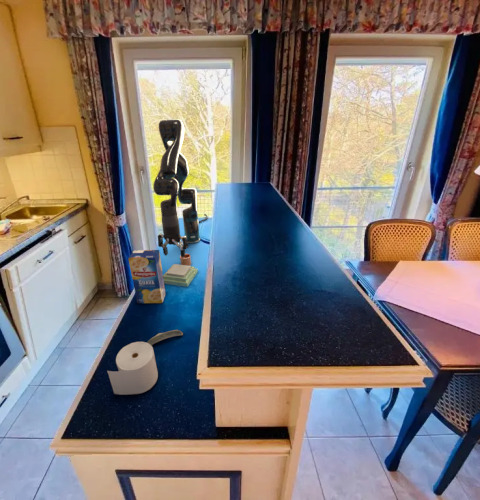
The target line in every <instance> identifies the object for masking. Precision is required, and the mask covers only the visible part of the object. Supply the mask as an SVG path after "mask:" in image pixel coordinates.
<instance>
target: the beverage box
mask: <svg viewBox="0 0 480 500" xmlns="http://www.w3.org/2000/svg"><path fill="white" fill-rule="evenodd" d="M127 259H128V264H129V269H130V273H131V279H132V284H133V288H134V294H135V298H136V302H137V304H163V302H164V300H165V298H166V295H167V293H166V287H165V286H166V284H164V279H163V275H164V272H163V265H162V259H161V251H160V249H147V250H146V249H139V250H138V249H137V250H136V249H134V250H132V252H131V254H130V255H129V256H128V258H127Z"/></svg>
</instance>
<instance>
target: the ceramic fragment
mask: <svg viewBox="0 0 480 500" xmlns="http://www.w3.org/2000/svg"><path fill="white" fill-rule="evenodd" d="M179 336H184V333H183V332H182V331H181V330H179V329H173V330H172V329H171V330H168V331H165V332H159V333H157V334H156V335H155V336H153V337H151V338H150V339H149V340H147V342H146V343H149V344H150V345H151V346H153V345H155V344H157V343H159V342H161V341H163V340H166V339H169V338H173V337H179Z"/></svg>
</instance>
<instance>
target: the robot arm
mask: <svg viewBox="0 0 480 500" xmlns="http://www.w3.org/2000/svg"><path fill="white" fill-rule="evenodd" d="M158 132H159V137H160V140H161V142H162V145H163V147H164V149H165V150H164V152H163V155H162V156H161V159H160V166H159V171H158V172H157V176H156V177H155V179H154V181H153V192H154V194H155V195H157V196H170V198H168V199H164V200H162V201H160V205H159V206H160V215H161V227H162V233H159V234H158V235H157V245H158V247H159V248H162V253H163V255H164V256H168V254H169V250H168V245H169V246H172V245H173V246H176V247H177V248H179V250H180V251H179V252H180V256H181V257H184V255H185V254H186V250H187V249H188V248H189V244H196V243H198V242H200V241H201V238H200V225H199V224H200V223H201V222H204V221H206V220H208V219H209V217H208V215H207V214H206V213H204V214H203V216H205V217H206V218H204V219H201V220H199V212H198V211H199V210H198V191H197V189H196V188H194V187H186V188H185V187H183V186H184V184H185V181H187V178H188V176H189V173H190V168H189V165H188V160H187V158H186V157H185V155H183V153H181V149H182V145H183V142H184V137H185V125H184V123H183V121H182V120H181V119H162V120H160V121H159V123H158ZM178 202H179V204H181V205H191V206H189V207H187V208H184V209H183V210H182V211H181V213H182V214H181V215H182V222H183V233H184V235H183V236H182V235H181V228H180V227H181V226H180V219H179V215H178ZM164 240H165V241H164Z"/></svg>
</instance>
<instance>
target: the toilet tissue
mask: <svg viewBox="0 0 480 500" xmlns="http://www.w3.org/2000/svg"><path fill="white" fill-rule="evenodd" d="M115 364H116V367H117V369H118V371H114V370H113V371H112V370H106V371H107V374H108V378H109V381H110V385H111V388H112V391H113V394H114V395H120V396H123V395H125V396H128V395H139V394H143V393H145V392H147V391H149V390H151V389H152V388H153V387H154V386H155V384H156V383H157V381H158V377H159V371H158V368H157V361H156V356H155V352H154V347H153V345H150V344H149V343H147V342H145V341H135V342H131V343H129V344H127V345H125V346H123V347H122V348H121V349H120V350H119V351H118V353H117V355H116V357H115Z"/></svg>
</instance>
